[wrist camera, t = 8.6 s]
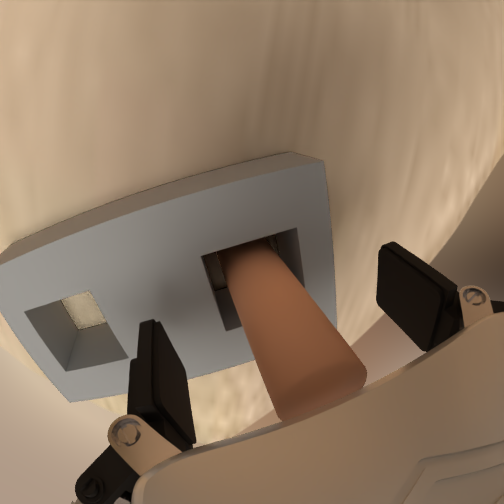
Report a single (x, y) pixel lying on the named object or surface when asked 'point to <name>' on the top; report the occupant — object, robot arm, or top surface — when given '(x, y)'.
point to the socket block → (164, 271)
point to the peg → (288, 332)
